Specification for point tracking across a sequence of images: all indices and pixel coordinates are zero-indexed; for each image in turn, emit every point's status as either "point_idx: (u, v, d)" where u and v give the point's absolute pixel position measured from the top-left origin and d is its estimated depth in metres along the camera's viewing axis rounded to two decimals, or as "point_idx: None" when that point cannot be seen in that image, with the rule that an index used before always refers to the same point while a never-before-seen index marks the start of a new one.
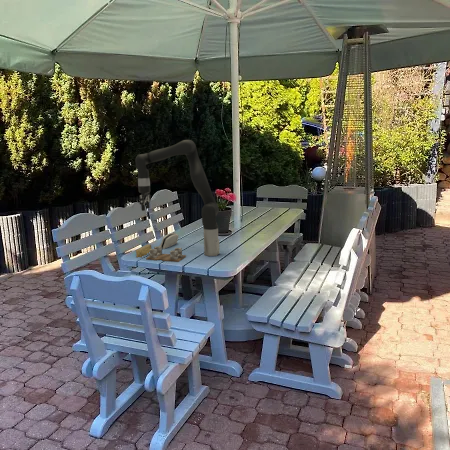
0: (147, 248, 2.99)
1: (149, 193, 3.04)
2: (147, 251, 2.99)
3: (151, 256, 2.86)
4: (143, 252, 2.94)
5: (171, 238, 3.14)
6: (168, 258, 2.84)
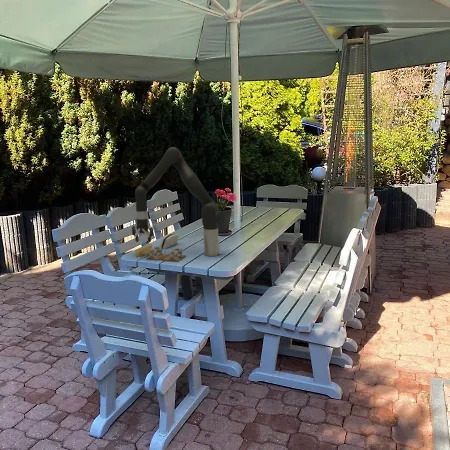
0: (147, 248, 2.99)
1: None
2: (147, 251, 2.99)
3: (151, 256, 2.86)
4: (142, 252, 2.94)
5: (171, 238, 3.14)
6: (168, 258, 2.84)
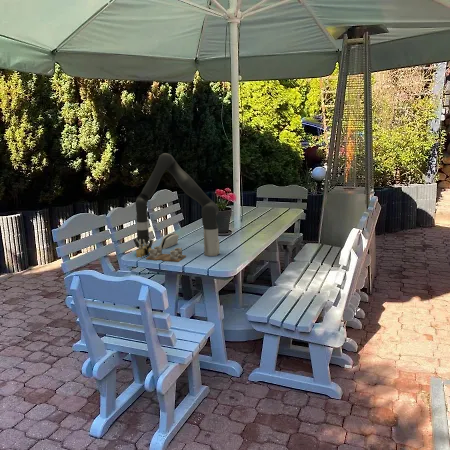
0: None
1: None
2: None
3: (151, 256, 2.86)
4: (143, 252, 2.94)
5: (171, 238, 3.14)
6: (168, 258, 2.84)
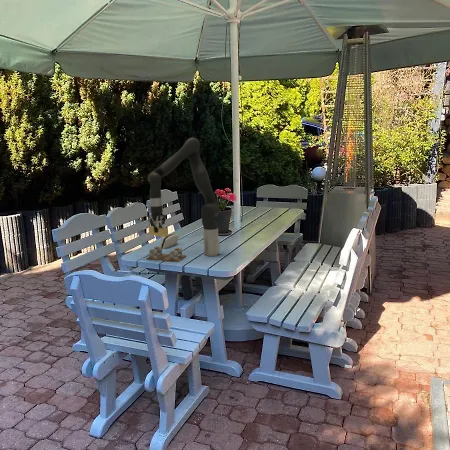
0: None
1: (149, 218, 2.82)
2: None
3: (151, 256, 2.86)
4: None
5: (171, 238, 3.14)
6: (168, 258, 2.84)
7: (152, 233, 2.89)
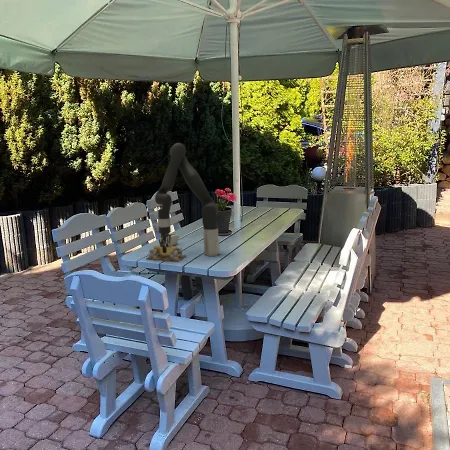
0: None
1: (159, 239, 2.81)
2: None
3: (151, 256, 2.86)
4: None
5: (171, 238, 3.14)
6: (168, 258, 2.84)
7: (159, 252, 2.88)
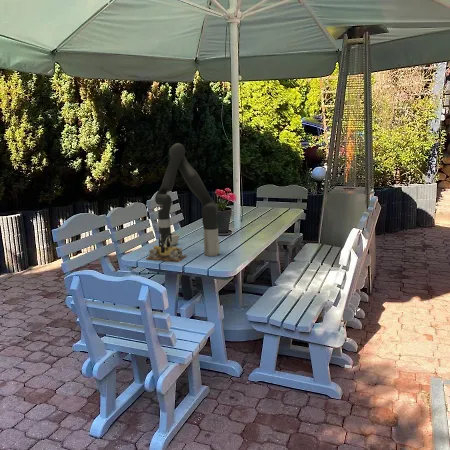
0: None
1: (159, 237, 2.80)
2: None
3: (151, 256, 2.86)
4: None
5: None
6: (168, 258, 2.84)
7: (159, 253, 2.87)
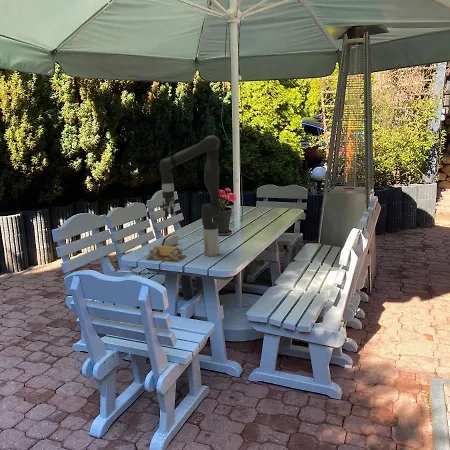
0: None
1: (163, 201, 2.85)
2: None
3: (151, 256, 2.86)
4: None
5: (171, 238, 3.14)
6: (168, 258, 2.84)
7: (159, 253, 2.87)
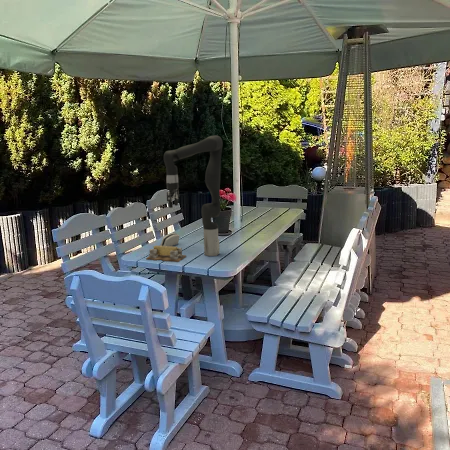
0: None
1: None
2: None
3: (151, 256, 2.86)
4: None
5: (171, 238, 3.14)
6: (168, 258, 2.84)
7: (159, 253, 2.87)
